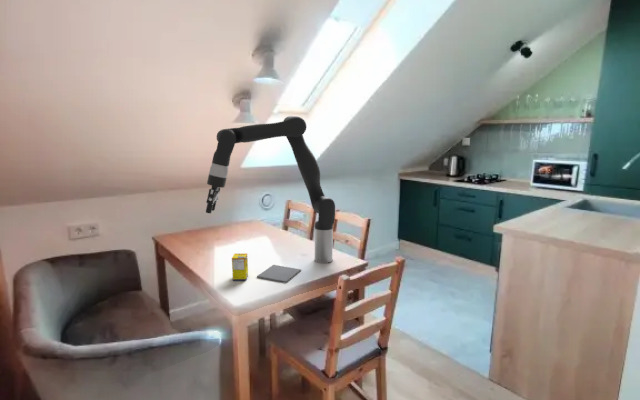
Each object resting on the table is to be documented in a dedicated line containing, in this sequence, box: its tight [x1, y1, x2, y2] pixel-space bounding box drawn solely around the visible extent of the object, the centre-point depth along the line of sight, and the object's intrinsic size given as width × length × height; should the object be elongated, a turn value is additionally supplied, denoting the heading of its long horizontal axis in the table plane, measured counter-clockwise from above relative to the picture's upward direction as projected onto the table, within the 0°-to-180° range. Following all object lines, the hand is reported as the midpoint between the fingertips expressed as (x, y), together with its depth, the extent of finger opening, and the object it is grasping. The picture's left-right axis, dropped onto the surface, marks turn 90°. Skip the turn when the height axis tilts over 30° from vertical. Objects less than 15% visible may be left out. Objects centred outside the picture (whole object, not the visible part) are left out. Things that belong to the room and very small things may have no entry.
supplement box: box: [231, 252, 249, 282], centre depth 166 cm, size 6×6×11 cm
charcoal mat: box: [256, 264, 302, 284], centre depth 172 cm, size 15×15×1 cm
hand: (210, 211), depth 160 cm, fingers open, 8 cm apart
